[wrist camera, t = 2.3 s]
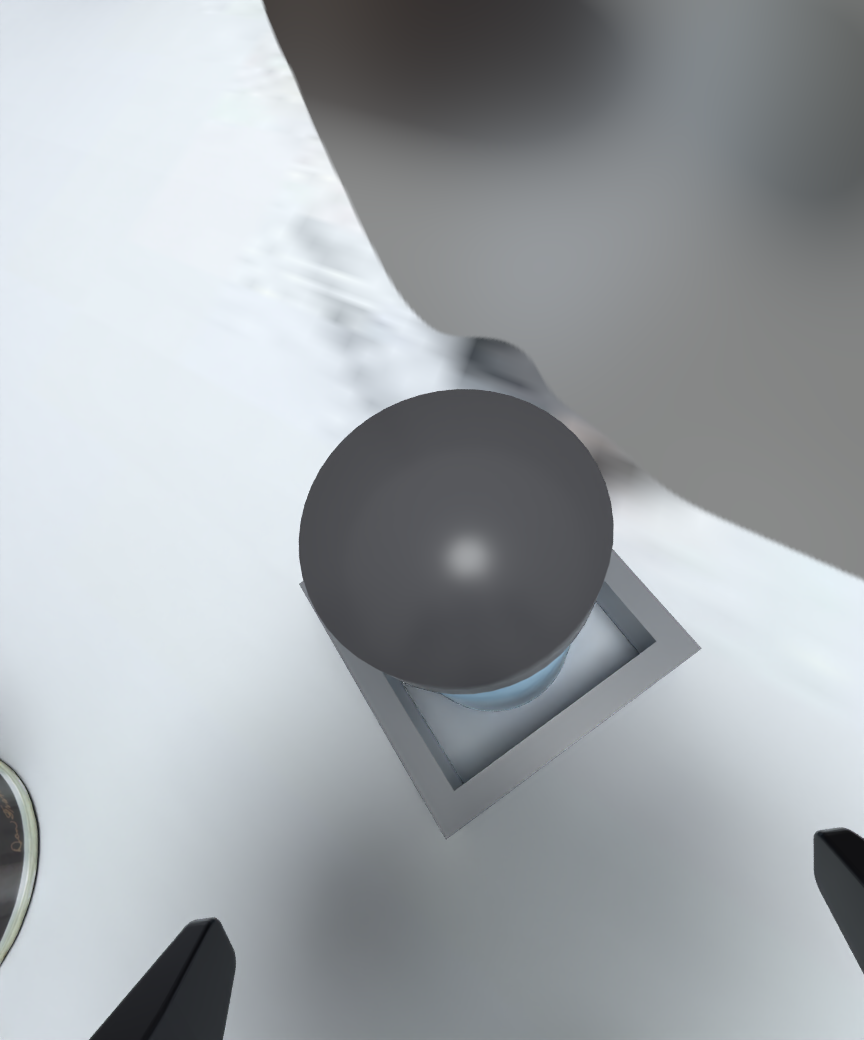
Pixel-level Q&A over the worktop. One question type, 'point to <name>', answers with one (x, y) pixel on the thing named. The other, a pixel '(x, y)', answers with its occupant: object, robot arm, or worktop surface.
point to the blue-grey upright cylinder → (459, 545)
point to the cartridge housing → (461, 803)
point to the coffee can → (15, 855)
